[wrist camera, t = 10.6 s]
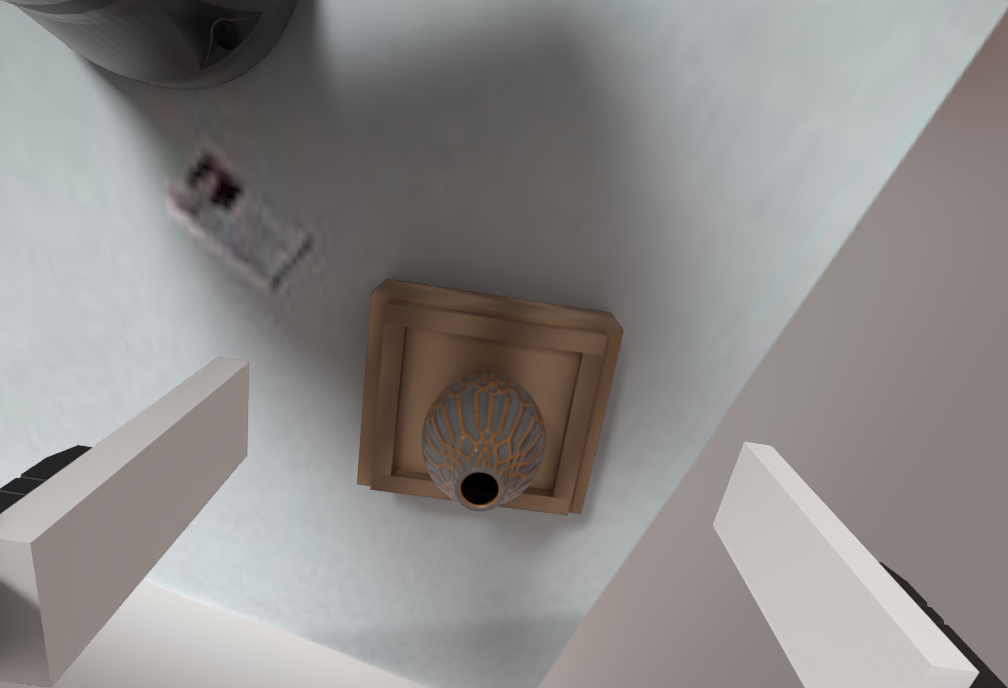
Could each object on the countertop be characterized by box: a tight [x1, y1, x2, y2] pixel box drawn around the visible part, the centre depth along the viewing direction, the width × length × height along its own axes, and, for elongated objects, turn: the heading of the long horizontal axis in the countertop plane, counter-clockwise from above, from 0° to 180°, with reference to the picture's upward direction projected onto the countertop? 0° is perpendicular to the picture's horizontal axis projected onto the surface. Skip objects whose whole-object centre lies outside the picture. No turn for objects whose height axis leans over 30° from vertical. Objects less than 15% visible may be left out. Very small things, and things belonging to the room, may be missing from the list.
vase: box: [421, 373, 546, 511], centre depth 29 cm, size 7×7×9 cm
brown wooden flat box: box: [357, 279, 624, 515], centre depth 35 cm, size 15×13×5 cm
